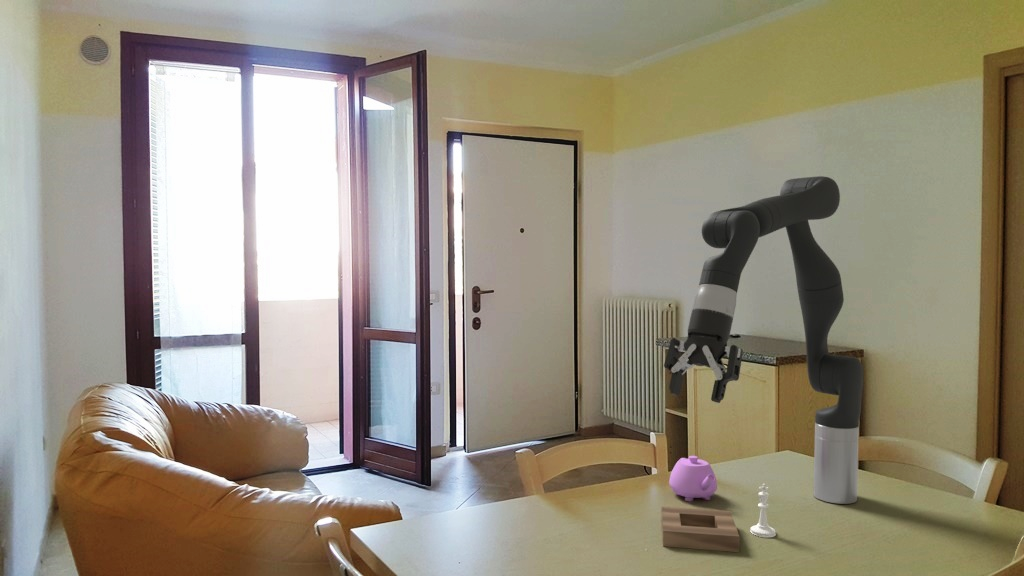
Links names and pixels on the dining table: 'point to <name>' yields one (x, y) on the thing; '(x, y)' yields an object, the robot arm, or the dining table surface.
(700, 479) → the teapot
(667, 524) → the socket block
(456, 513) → the dining table surface
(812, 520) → the dining table surface
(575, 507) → the dining table surface
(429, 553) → the dining table surface
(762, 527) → the chess piece
